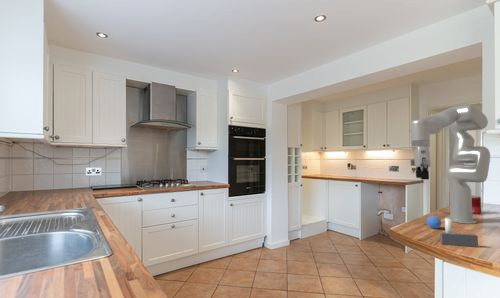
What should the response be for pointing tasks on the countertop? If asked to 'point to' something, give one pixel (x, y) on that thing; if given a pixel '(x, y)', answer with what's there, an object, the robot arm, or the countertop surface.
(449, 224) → the pin
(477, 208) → the canned food
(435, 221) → the ball
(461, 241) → the block
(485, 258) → the countertop surface
